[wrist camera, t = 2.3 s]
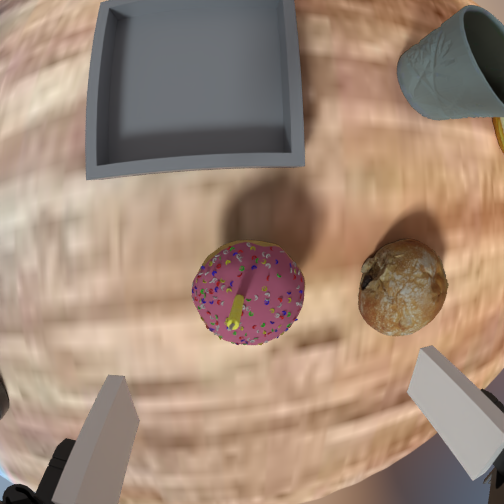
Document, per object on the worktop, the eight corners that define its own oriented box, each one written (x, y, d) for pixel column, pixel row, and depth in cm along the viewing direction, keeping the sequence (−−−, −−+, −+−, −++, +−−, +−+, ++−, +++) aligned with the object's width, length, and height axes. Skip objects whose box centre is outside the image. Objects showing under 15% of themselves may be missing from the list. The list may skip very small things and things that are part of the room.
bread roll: (370, 225, 31) (375, 231, 23) (450, 249, 28) (476, 261, 20) (346, 308, 33) (343, 336, 25) (424, 329, 30) (439, 360, 22)
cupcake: (181, 290, 27) (156, 367, 15) (229, 210, 25) (235, 237, 14) (259, 331, 28) (282, 418, 17) (309, 259, 27) (367, 316, 15)
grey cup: (458, 135, 25) (538, 131, 14) (390, 115, 24) (475, 93, 13) (451, 59, 23) (520, 35, 11) (383, 31, 22) (450, -15, 10)
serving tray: (102, 179, 23) (86, 180, 20) (112, 18, 19) (100, 2, 16) (294, 167, 25) (304, 166, 21) (284, 5, 21) (292, -13, 17)
